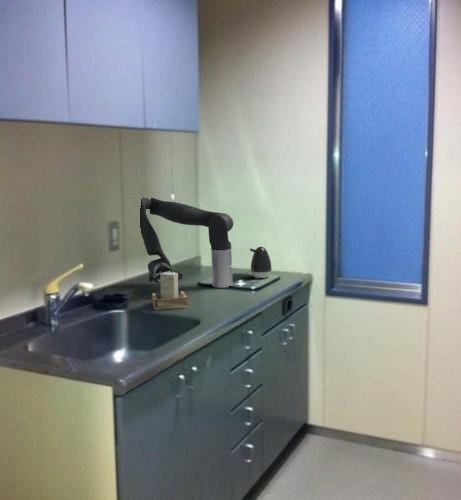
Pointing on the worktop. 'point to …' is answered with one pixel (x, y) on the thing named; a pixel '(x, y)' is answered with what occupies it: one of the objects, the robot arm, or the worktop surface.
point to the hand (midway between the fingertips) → (167, 279)
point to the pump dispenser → (260, 263)
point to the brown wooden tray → (170, 302)
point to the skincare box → (169, 285)
